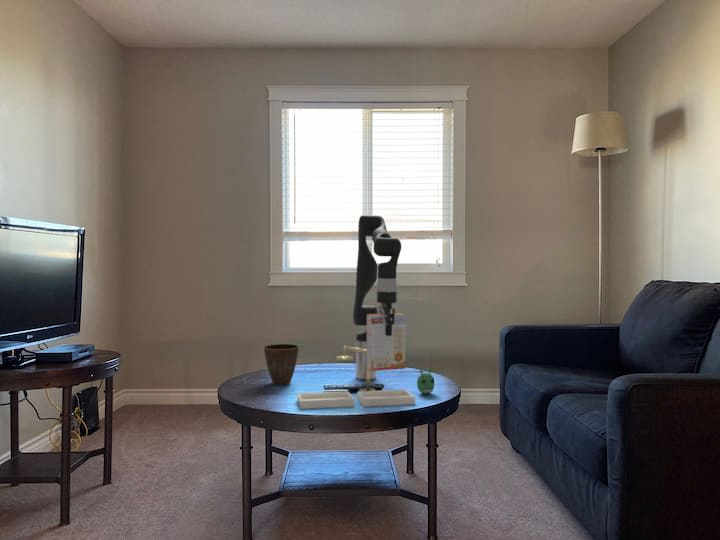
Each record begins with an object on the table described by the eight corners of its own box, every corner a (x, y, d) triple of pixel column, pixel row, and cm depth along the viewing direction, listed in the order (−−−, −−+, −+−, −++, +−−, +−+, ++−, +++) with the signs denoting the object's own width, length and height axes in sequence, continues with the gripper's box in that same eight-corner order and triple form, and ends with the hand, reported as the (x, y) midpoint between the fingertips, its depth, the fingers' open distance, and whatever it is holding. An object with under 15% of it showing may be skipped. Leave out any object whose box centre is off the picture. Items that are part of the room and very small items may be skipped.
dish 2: (357, 398, 201) (357, 391, 201) (405, 396, 206) (405, 389, 205) (363, 406, 190) (363, 399, 190) (415, 404, 194) (415, 396, 194)
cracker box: (399, 366, 203) (400, 312, 203) (405, 369, 197) (406, 314, 197) (365, 368, 198) (366, 313, 198) (371, 371, 193) (372, 315, 192)
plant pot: (274, 388, 215) (275, 350, 215) (257, 382, 227) (257, 345, 227) (305, 384, 225) (305, 347, 225) (286, 378, 236) (287, 343, 236)
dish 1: (297, 400, 197) (297, 393, 197) (348, 398, 202) (348, 391, 202) (300, 408, 186) (300, 401, 186) (354, 406, 190) (354, 398, 190)
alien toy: (420, 396, 205) (421, 371, 205) (414, 392, 213) (414, 367, 213) (437, 396, 207) (437, 371, 207) (430, 391, 214) (430, 367, 214)
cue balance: (334, 393, 209) (334, 344, 209) (397, 390, 215) (398, 343, 215) (337, 397, 202) (337, 347, 202) (402, 394, 208) (403, 345, 208)
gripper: (372, 289, 204) (372, 332, 204) (382, 291, 190) (381, 337, 190) (391, 289, 205) (390, 331, 206) (401, 291, 191) (401, 336, 192)
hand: (386, 334), depth 198 cm, fingers closed on cracker box, 6 cm apart
